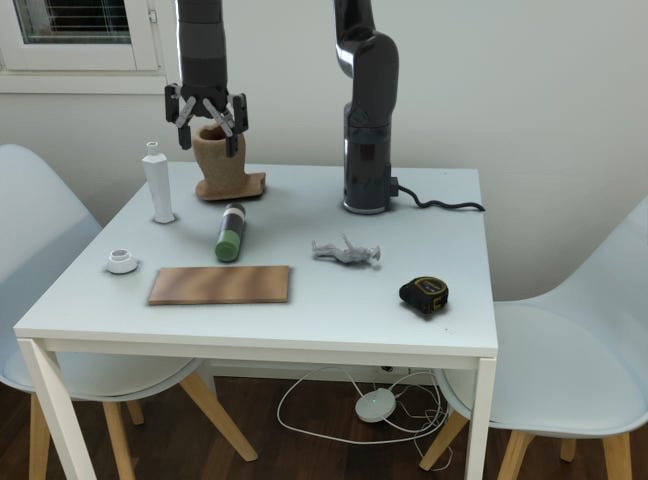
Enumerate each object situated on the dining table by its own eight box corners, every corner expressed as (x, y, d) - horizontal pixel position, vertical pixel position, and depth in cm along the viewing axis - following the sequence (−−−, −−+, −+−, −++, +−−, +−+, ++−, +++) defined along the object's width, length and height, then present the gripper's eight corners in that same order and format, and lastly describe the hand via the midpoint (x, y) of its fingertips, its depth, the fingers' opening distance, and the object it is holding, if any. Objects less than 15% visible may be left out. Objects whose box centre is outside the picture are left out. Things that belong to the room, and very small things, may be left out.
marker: (226, 219, 139) (224, 199, 136) (247, 218, 139) (245, 199, 136) (215, 263, 124) (212, 242, 121) (238, 263, 124) (236, 242, 122)
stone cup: (196, 210, 142) (185, 136, 133) (196, 187, 152) (186, 117, 143) (270, 204, 144) (265, 131, 135) (266, 182, 154) (261, 113, 145)
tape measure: (396, 302, 113) (397, 282, 111) (429, 290, 116) (430, 270, 114) (422, 321, 109) (424, 301, 106) (456, 308, 112) (458, 288, 109)
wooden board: (288, 269, 122) (288, 265, 122) (286, 302, 113) (286, 298, 113) (161, 271, 121) (161, 267, 121) (149, 305, 112) (148, 300, 112)
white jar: (124, 258, 125) (102, 270, 122) (121, 243, 123) (98, 254, 120) (143, 266, 123) (121, 278, 120) (140, 251, 121) (118, 262, 118)
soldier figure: (326, 251, 130) (386, 240, 125) (326, 276, 128) (388, 265, 124) (307, 236, 123) (370, 224, 118) (307, 263, 121) (371, 251, 117)
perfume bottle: (171, 224, 136) (159, 149, 128) (150, 222, 137) (136, 147, 128) (181, 215, 140) (169, 140, 131) (160, 213, 141) (147, 139, 132)
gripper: (253, 52, 112) (256, 153, 121) (175, 41, 115) (183, 140, 124) (231, 61, 106) (235, 166, 115) (149, 49, 109) (160, 152, 119)
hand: (208, 152), depth 120 cm, fingers open, 8 cm apart
